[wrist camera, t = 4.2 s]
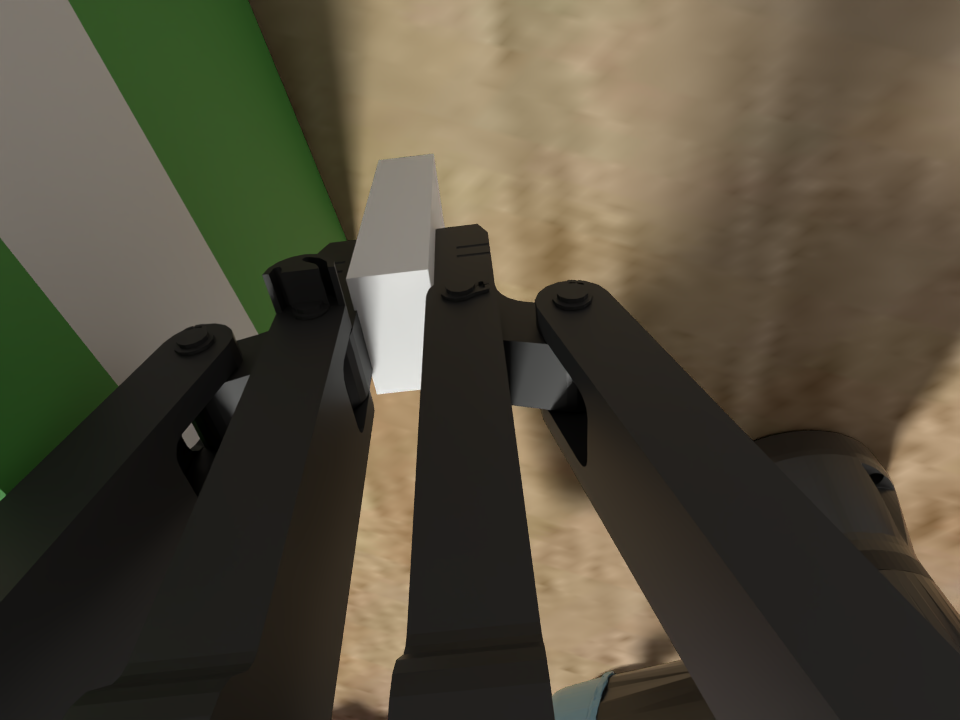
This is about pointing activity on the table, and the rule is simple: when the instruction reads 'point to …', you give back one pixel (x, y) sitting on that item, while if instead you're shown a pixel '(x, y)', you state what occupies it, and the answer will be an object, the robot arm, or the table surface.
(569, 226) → the table surface
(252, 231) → the hardback book
